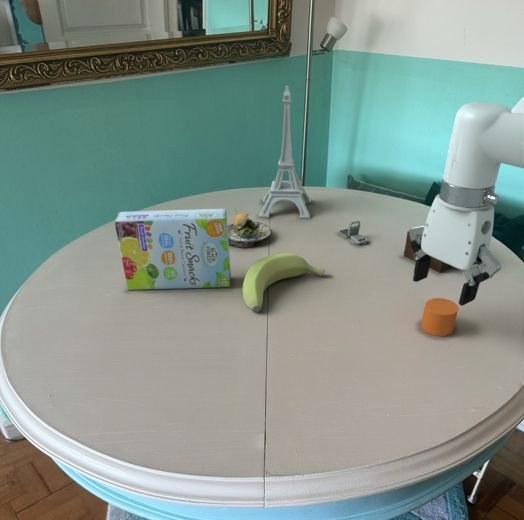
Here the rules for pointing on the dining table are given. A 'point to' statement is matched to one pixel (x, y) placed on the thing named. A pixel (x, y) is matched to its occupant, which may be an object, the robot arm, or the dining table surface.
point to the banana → (272, 275)
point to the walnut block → (434, 263)
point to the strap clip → (354, 234)
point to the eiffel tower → (286, 163)
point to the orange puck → (439, 316)
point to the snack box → (174, 248)
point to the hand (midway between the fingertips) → (441, 290)
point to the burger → (246, 231)
